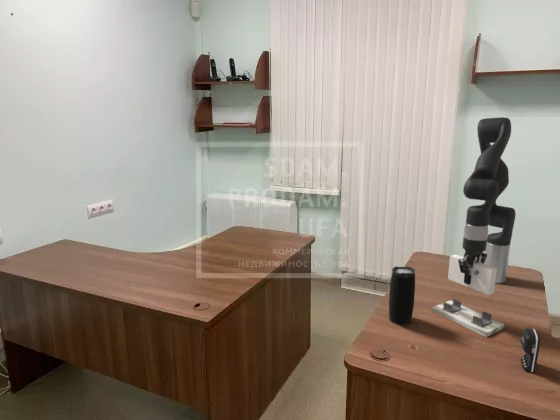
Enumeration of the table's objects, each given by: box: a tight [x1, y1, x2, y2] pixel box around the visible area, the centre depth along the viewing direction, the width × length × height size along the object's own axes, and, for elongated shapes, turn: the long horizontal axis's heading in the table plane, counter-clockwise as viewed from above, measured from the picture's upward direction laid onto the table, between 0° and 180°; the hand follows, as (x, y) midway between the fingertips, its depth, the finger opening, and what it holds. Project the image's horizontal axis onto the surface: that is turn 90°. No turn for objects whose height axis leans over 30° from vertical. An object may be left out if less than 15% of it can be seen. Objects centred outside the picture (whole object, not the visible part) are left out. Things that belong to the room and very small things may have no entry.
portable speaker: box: [388, 265, 416, 325], centre depth 154 cm, size 9×9×20 cm
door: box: [447, 254, 497, 296], centre depth 152 cm, size 4×16×9 cm, turn 33°
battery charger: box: [520, 327, 541, 374], centre depth 128 cm, size 7×4×11 cm, turn 160°
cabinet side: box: [431, 298, 506, 338], centre depth 156 cm, size 11×22×4 cm, turn 33°
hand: (470, 282), depth 153 cm, fingers closed on door, 3 cm apart
